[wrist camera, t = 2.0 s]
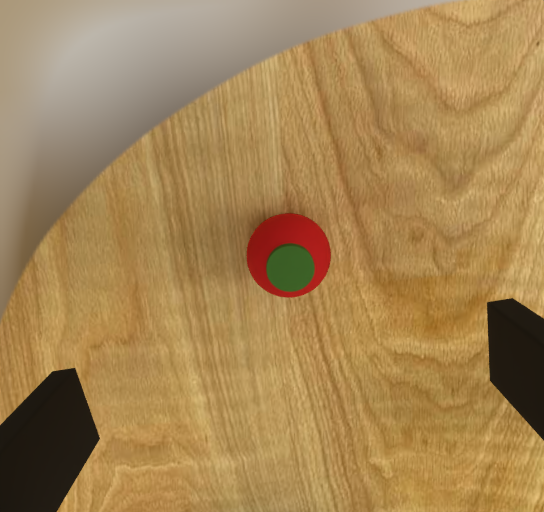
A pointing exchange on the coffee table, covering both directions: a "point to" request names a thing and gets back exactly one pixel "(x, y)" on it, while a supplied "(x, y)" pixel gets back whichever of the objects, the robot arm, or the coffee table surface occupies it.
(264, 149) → the coffee table surface
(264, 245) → the tomato
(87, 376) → the coffee table surface
